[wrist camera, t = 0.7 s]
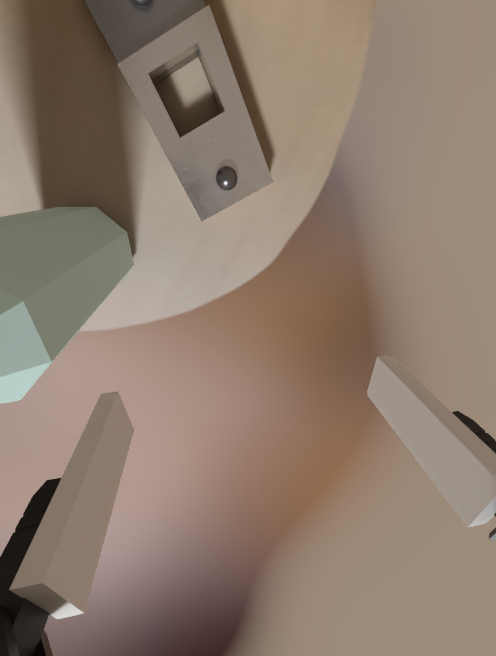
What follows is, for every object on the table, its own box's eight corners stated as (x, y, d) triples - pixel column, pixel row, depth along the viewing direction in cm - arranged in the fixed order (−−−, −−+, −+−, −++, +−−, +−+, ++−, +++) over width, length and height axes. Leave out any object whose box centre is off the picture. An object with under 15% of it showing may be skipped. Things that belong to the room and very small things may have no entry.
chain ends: (78, -14, 21) (56, -48, 18) (170, -79, 20) (164, -126, 17) (202, 218, 31) (201, 222, 28) (267, 181, 30) (274, 182, 27)
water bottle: (102, 187, 28) (-210, 205, 7) (152, 267, 34) (61, 419, 12) (26, 224, 29) (-472, 345, 8) (86, 297, 34) (-111, 491, 13)
